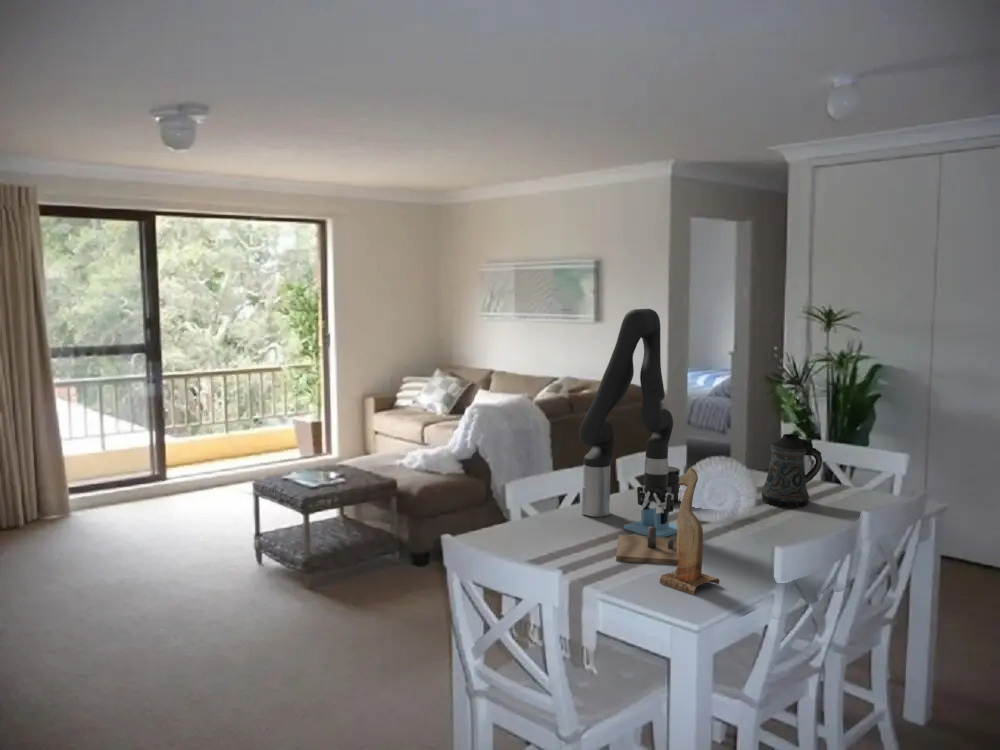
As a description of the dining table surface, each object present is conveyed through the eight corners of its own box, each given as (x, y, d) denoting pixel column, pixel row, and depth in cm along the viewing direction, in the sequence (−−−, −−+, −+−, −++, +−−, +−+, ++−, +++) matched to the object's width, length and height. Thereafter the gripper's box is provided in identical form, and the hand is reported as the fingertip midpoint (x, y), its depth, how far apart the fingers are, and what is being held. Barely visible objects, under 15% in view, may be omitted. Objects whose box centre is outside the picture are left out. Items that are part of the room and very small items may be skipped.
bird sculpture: (683, 575, 227) (682, 460, 224) (720, 585, 219) (720, 466, 216) (658, 585, 220) (658, 467, 217) (696, 596, 211) (696, 473, 208)
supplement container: (680, 498, 307) (681, 466, 306) (680, 505, 297) (681, 472, 296) (651, 496, 310) (652, 464, 308) (650, 503, 299) (651, 471, 298)
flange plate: (657, 539, 258) (658, 519, 257) (623, 528, 269) (624, 510, 268) (685, 530, 267) (686, 511, 266) (652, 520, 278) (652, 502, 277)
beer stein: (751, 498, 307) (754, 432, 304) (796, 494, 313) (799, 429, 310) (779, 510, 291) (782, 440, 289) (825, 506, 297) (829, 437, 294)
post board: (616, 560, 238) (616, 535, 237) (618, 539, 257) (619, 516, 256) (687, 565, 234) (688, 539, 233) (684, 543, 253) (685, 519, 253)
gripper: (631, 468, 269) (630, 518, 271) (666, 476, 258) (665, 528, 260) (646, 465, 273) (645, 514, 275) (681, 473, 262) (680, 524, 264)
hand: (655, 521), depth 267 cm, fingers closed on flange plate, 6 cm apart
